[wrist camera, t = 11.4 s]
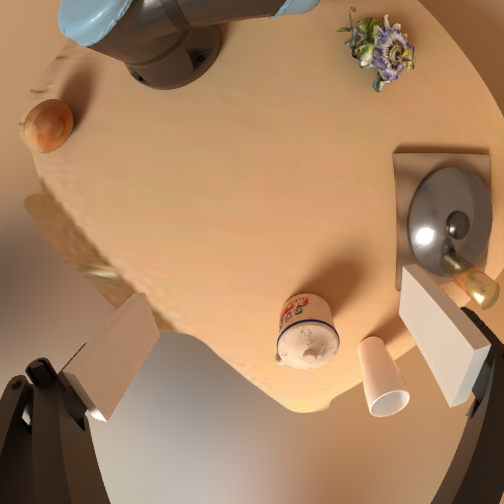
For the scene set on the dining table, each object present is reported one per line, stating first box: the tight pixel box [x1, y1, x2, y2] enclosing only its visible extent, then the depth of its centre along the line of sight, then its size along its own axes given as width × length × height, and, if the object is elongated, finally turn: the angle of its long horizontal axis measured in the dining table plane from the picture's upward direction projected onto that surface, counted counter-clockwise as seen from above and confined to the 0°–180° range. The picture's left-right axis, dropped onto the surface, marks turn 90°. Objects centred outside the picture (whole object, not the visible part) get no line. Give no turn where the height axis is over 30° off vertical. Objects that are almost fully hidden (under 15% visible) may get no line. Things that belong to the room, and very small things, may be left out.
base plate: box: [392, 153, 491, 291], centre depth 37 cm, size 22×20×2 cm
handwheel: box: [407, 166, 500, 310], centre depth 29 cm, size 18×18×13 cm
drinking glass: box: [357, 336, 410, 417], centre depth 40 cm, size 7×7×15 cm
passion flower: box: [337, 7, 415, 92], centre depth 27 cm, size 11×11×12 cm
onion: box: [24, 99, 73, 153], centre depth 34 cm, size 10×10×10 cm
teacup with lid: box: [275, 293, 339, 370], centre depth 41 cm, size 12×9×12 cm
